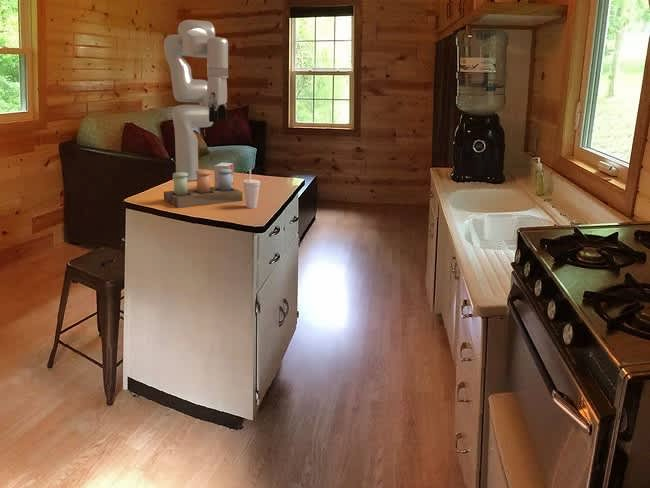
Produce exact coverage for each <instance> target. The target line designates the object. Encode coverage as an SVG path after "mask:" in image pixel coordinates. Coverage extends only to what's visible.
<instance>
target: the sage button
mask: <svg viewBox="0 0 650 488" xmlns="http://www.w3.org/2000/svg"><path fill="white" fill-rule="evenodd" d="M173 176H174V179H173V191H174V195H176V196H186V195H188V186H189V184H188V181H187V176H188V173H185V172H176V171H175V172H172V177H173Z"/></svg>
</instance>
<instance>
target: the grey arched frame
mask: <svg viewBox="0 0 650 488" xmlns="http://www.w3.org/2000/svg"><path fill="white" fill-rule="evenodd" d="M234 164H235V163H232V162H220V163H217V164H215V165H214V168H213V169H214V170H213V171H214V187H216V186H219V173H218V169H231V170H232V173H231V188H234V187H235V185H234V184H235V183H234V179H235V175H234V171H235V165H234ZM234 189H235V188H234Z"/></svg>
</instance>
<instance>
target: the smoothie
mask: <svg viewBox="0 0 650 488" xmlns="http://www.w3.org/2000/svg"><path fill="white" fill-rule="evenodd" d="M242 185H243V188H244V197H245V205H246V207H245V208H247V209H256V208H257V207H258V199H259V192H260V185H261V181H260V180H258V179H252V168H250V169H249V179H245V180H242Z"/></svg>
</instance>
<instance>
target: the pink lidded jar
mask: <svg viewBox="0 0 650 488" xmlns="http://www.w3.org/2000/svg"><path fill="white" fill-rule="evenodd" d="M211 172H212V171H210V170H198V171H196V174H197V180H196V188H197V193H200V194H206V193H210V187H211V180H210V179H211Z"/></svg>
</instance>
